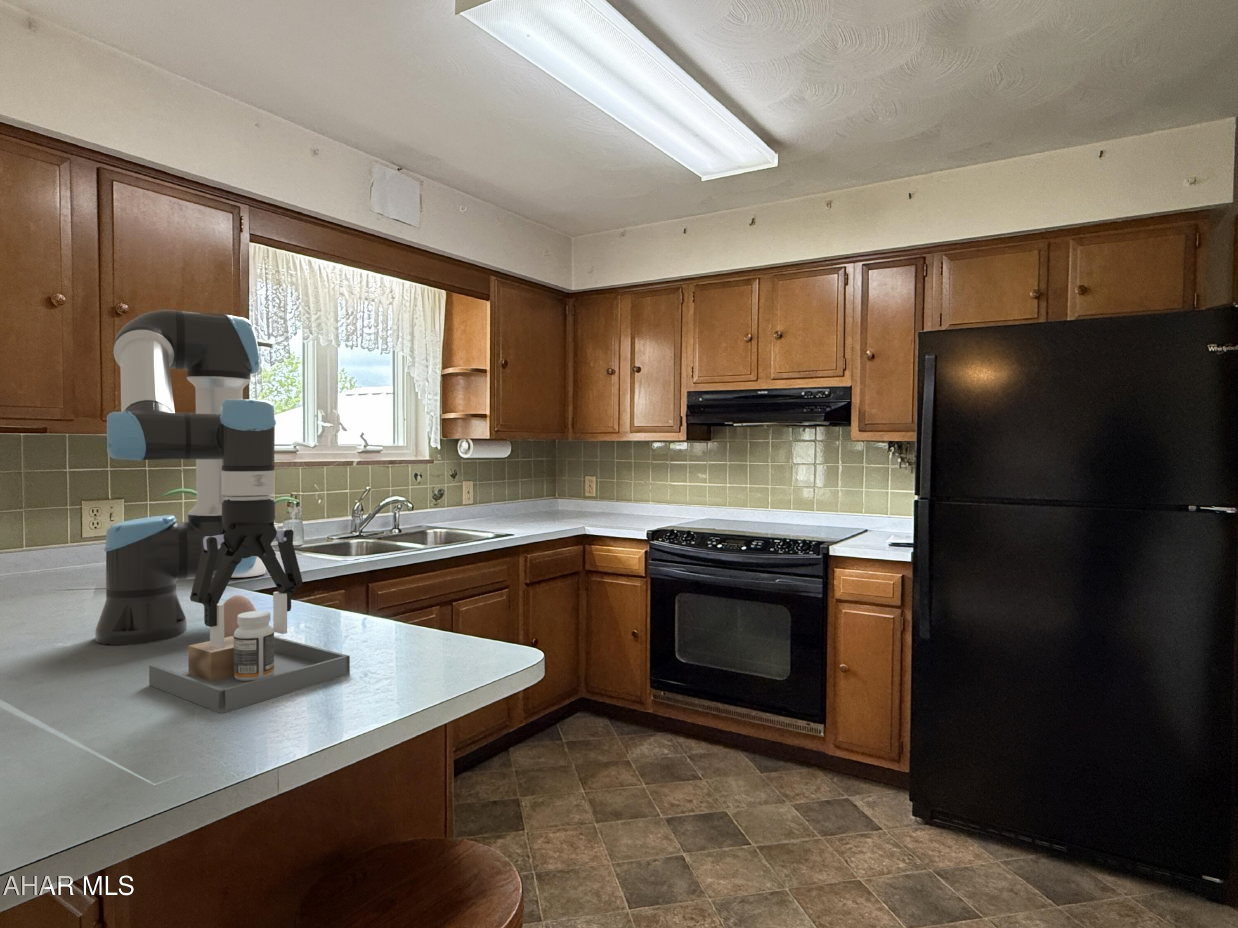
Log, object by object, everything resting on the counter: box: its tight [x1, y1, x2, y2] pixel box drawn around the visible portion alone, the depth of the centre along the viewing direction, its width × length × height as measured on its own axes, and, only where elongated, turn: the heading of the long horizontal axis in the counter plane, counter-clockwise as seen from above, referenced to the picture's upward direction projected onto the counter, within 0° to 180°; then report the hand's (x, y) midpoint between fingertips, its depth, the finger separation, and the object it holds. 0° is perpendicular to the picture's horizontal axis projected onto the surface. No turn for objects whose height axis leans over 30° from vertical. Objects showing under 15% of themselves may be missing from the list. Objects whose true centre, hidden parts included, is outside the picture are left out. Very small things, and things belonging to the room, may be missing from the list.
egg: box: [223, 594, 257, 638], centre depth 136 cm, size 7×7×9 cm
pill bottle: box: [233, 610, 275, 681], centre depth 114 cm, size 6×6×10 cm
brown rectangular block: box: [187, 636, 234, 682], centre depth 118 cm, size 7×10×4 cm
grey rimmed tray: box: [148, 636, 351, 714], centre depth 115 cm, size 21×21×3 cm
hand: (249, 639), depth 115 cm, fingers open, 9 cm apart
